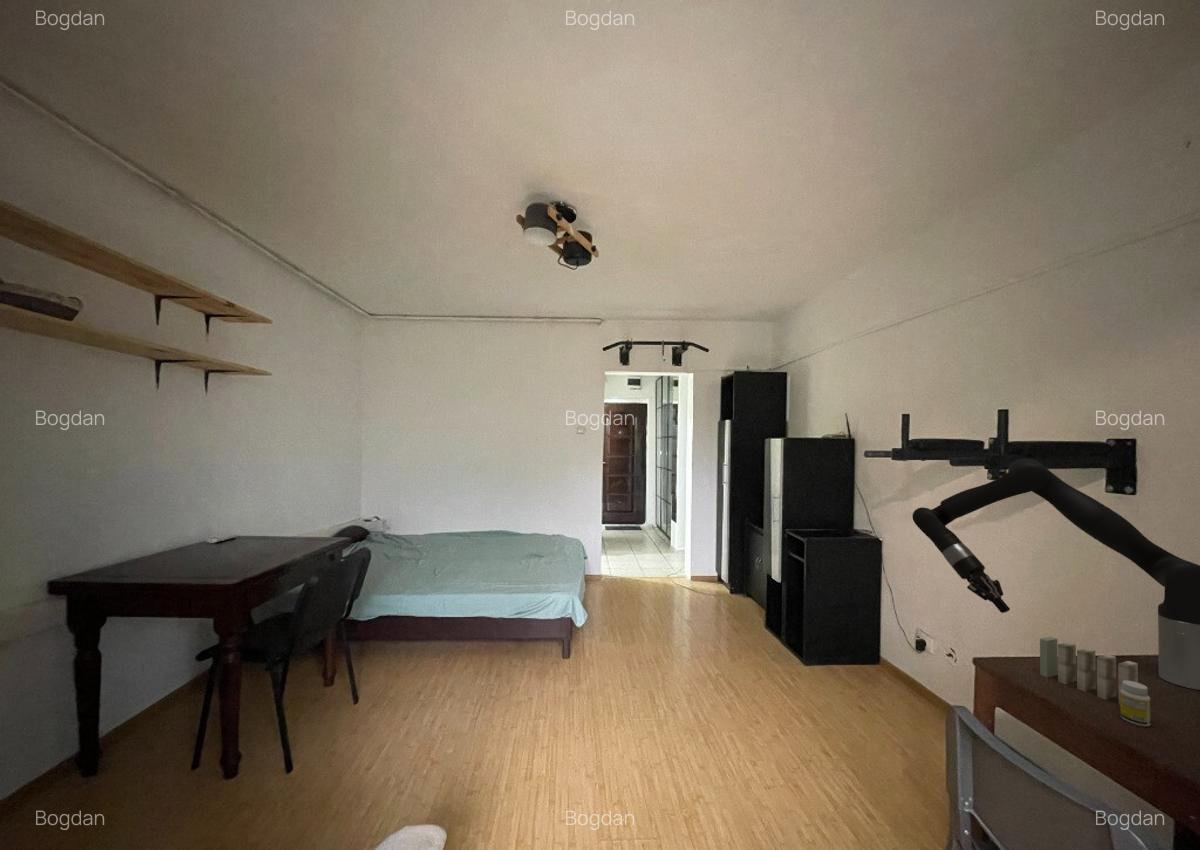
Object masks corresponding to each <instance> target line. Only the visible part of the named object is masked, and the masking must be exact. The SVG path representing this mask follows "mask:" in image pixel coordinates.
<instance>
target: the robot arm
mask: <svg viewBox="0 0 1200 850" xmlns="http://www.w3.org/2000/svg"><path fill="white" fill-rule="evenodd" d="M1030 492H1032V493H1034V494H1035V495H1037V496H1040V497H1041V498H1042V499H1044V500H1045V501H1046V502H1047V503H1049V504H1050V505H1052V506H1053V507H1054V508H1055V509H1056V510H1057V511H1058V512H1059V513H1060V514H1061V515H1062V516H1064V518H1065V519H1067V520H1068V521H1069V522H1071V523H1072V524H1073V525H1075V527H1077V528H1078V529H1079V530H1081V531H1083V532H1085V534H1087V535H1088V536H1090V537H1091V538H1093V539H1094V540H1096V541H1098V542H1099V543H1101V544H1102V545H1104V546H1106V547H1107V548H1109V549H1111V550H1112V551H1114V552H1117V553H1118V554H1120V555H1122V556H1123V557H1125V558H1127V559H1128V560H1130V562H1132V563H1134V564H1135V565H1136V566H1138V567H1139V569H1141V570H1142V571H1144V572H1145V573H1146V574H1147V575H1148V576H1150V577H1151V578H1152V579H1153V580H1154V581H1156V582H1157V583H1158V584H1160V585H1161V586H1162V587H1164V595H1163V597H1164V598H1163V602H1162V603H1159V604H1158V606H1157V629H1158V631H1157V633H1158V634H1157V635H1158V636H1157V637H1158V639H1157V640H1158V641H1157V644H1158V646H1157V647H1158V650H1157V651H1158V677H1159V678H1161V679H1162V680H1164V681H1167V683H1168V682H1169V683H1170V684H1171V683H1172V684H1174V685H1177V686H1180V687H1183V688H1188V689H1192V690H1198V691H1200V564H1197V563H1194V562H1192V561H1189V560H1187V559H1184V558H1181V557H1178V556H1177V555H1175V554H1173V553H1170V552H1169V551H1167V550H1166V549H1164V548H1163V547H1161V546H1160V545H1157V544H1155V543H1154V542H1152V541H1151V540H1149V539H1148V538H1147V537H1146V536H1144V535H1143V534H1144V533H1143V534H1142V532H1141V531H1139V529H1138V528H1136V526H1134V524H1133V523H1131V522H1129V521H1128V520H1127V519H1126V518H1125V517H1123V516H1122V515H1121V514H1119V513H1118V512H1116V511H1114V510H1113V509H1111V508H1110V507H1109V506H1106V505H1105V504H1103V503H1101V502H1100V501H1098V500H1096V499H1095V498H1093V497H1091V496H1089V495H1088V494H1086V493H1084V492H1082V491H1081V490H1078V488H1077V489H1076V488H1075V487H1073V486H1071V485H1070V484H1068V483H1066V482H1065V481H1064V480H1062V479H1061V478H1059V477H1058V476H1057V475H1056V474H1054V473H1053V472H1052V471H1050V469H1048V467H1046V466H1045V465H1044V464H1043V463H1042V462H1040V461H1039V460H1037V459H1033V458H1018V459H1016V460H1014V461H1012V462H1011V464H1009V467H1008V471H1007V472H1006V473H1005V474H1003V475H1001V476H999V477H998V478H996V479H994V480H992V481H990V482H987V483H984V484H981V485H979V486H975V487H972V488H971V487H970V488H968V489H965V490H962V491H960V492H957V493H955V494H953V495H951V496H949V497H946V498H945V499H943V500H942V501H940V505H938V506H936V507H934V508H932V509H930V508H928V507H918V508H915V510H913V512H912V521H913V522H914V524H915V526H916V527H917V528H918V529H919V530H920V532H922V533H923V534H924V535H925V536H927V538H928V539H929V540H930V541H931V542H932V543H933V544H934V546H935V547H936V548H937V549H938V551H939V552H940V553H941V554H942V556H943V557H944V558H945V560H946V562H947V563H948V564H949V566H951V568H952V569H953V570H954V572H955V573H956V574H957V575H958V576H959V577H960V578H961V579H962V580H967V581H966V582H967V583H969V585H967V587H966V588H967V589H968V590H969V591H970V592H972V593H973V594H975V595H977V596H979V597H980V598H981V599H982V600H984V601H989V602H990V603H992V604H993V605H994V606H995V607H996V609H998V611H999V612H1000V613H1001V614H1004V613H1007V612H1009V611H1010V610H1011V608H1010V607H1009V605H1008V604H1006V602H1005V601H1004V600H1003V599H1002V596H1003V595H1004V592H1003V590H1002V589H1003V588H1002V586H1001V583H1000V581H999V580H998V579H995V580H994V579H992V578H991V577H990V576H989V575H988V574H987V573H985V569H986V567H985V565H984V564H983V563H982V562H981V561H980V559H978V558H977V556H976V555H975V554H974V553H973V552H972V551H971V549H970V548H968V546H966V545H965V544H964V542H962V540H961V539H960V538H959V537H958V536H957V535H956V534H955V533H954V532H953V531H952V530H950V529H949V528H948V527H947V525H949V524H950V523H952V522H953V521H955V520H956V519H959V518H961V517H964V516H966V515H968V514H971V513H973V512H975V511H978V510H980V509H982V508H984V507H987V506H990V505H992V504H994V503H997V502H1000V501H1002V500H1005V499H1008V498H1012V497H1016V496H1018V495H1023V494H1027V493H1030Z"/></svg>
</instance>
